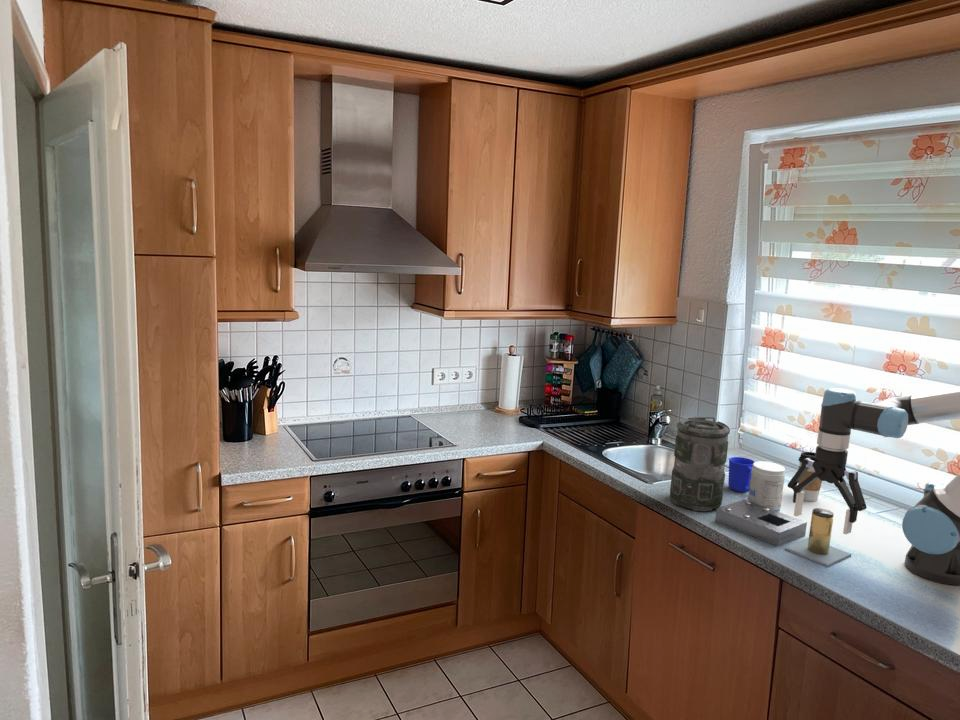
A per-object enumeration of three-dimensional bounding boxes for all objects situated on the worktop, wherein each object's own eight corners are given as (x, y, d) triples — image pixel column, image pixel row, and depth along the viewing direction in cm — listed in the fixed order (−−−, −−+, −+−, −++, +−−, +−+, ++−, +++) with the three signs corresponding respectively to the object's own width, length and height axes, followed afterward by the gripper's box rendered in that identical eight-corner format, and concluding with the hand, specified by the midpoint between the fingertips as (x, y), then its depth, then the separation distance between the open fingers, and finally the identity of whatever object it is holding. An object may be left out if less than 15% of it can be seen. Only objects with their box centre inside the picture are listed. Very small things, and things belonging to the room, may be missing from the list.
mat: (851, 556, 192) (851, 554, 191) (827, 566, 184) (828, 564, 184) (808, 539, 201) (808, 537, 201) (784, 549, 194) (784, 547, 194)
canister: (684, 513, 216) (694, 423, 211) (660, 494, 231) (668, 410, 226) (731, 511, 219) (741, 423, 215) (704, 492, 235) (713, 409, 230)
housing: (805, 535, 204) (807, 520, 203) (777, 546, 195) (779, 531, 195) (743, 511, 219) (744, 498, 219) (715, 521, 211) (716, 507, 210)
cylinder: (832, 551, 192) (837, 513, 190) (822, 556, 189) (827, 517, 187) (813, 544, 196) (819, 506, 194) (803, 549, 193) (808, 510, 191)
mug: (740, 498, 231) (744, 468, 229) (721, 485, 243) (724, 457, 241) (763, 497, 233) (767, 468, 231) (743, 484, 244) (746, 456, 243)
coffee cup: (793, 499, 232) (798, 455, 229) (794, 491, 240) (799, 448, 237) (821, 504, 229) (827, 459, 226) (821, 496, 236) (827, 453, 233)
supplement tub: (741, 505, 225) (746, 460, 222) (770, 505, 226) (775, 460, 223) (755, 517, 215) (761, 470, 213) (785, 517, 216) (791, 471, 214)
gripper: (888, 458, 180) (876, 537, 184) (795, 433, 200) (785, 505, 203) (874, 463, 176) (862, 544, 179) (780, 437, 195) (771, 510, 199)
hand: (821, 523), depth 191 cm, fingers open, 13 cm apart
